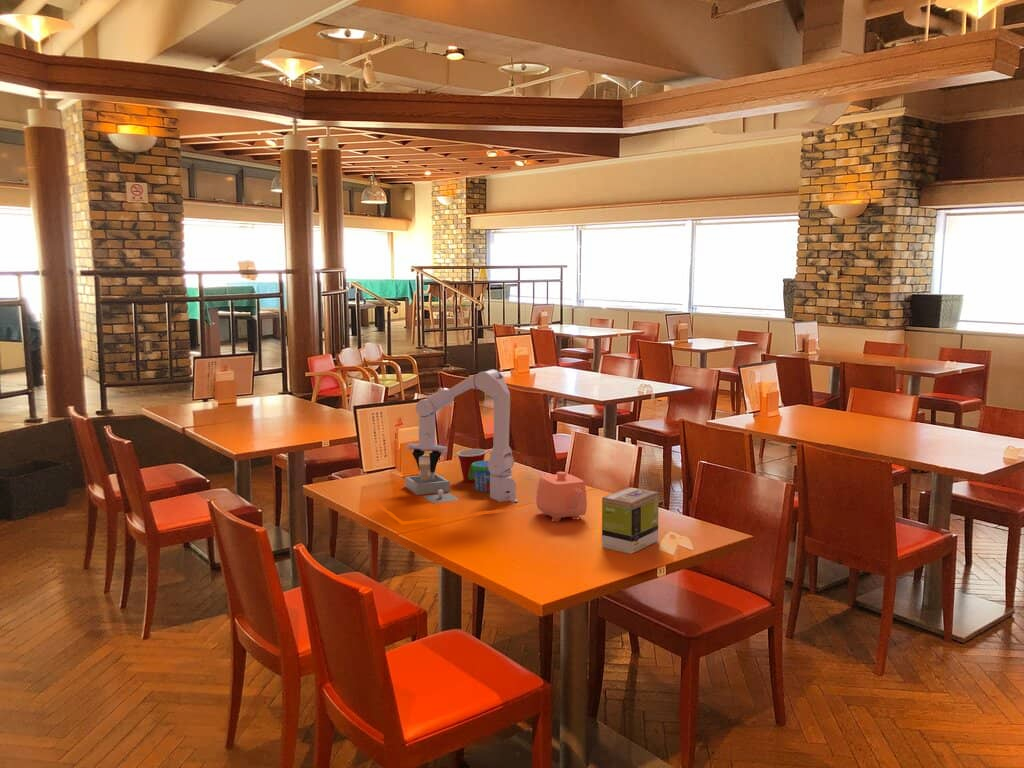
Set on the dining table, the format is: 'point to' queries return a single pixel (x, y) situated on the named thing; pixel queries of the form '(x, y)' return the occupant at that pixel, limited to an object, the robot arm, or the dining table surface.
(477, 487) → the snack cup
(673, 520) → the dining table surface
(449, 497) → the stud block
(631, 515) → the tea box
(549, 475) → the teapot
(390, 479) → the dining table surface
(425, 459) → the strut
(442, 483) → the bin
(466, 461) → the plastic cup
